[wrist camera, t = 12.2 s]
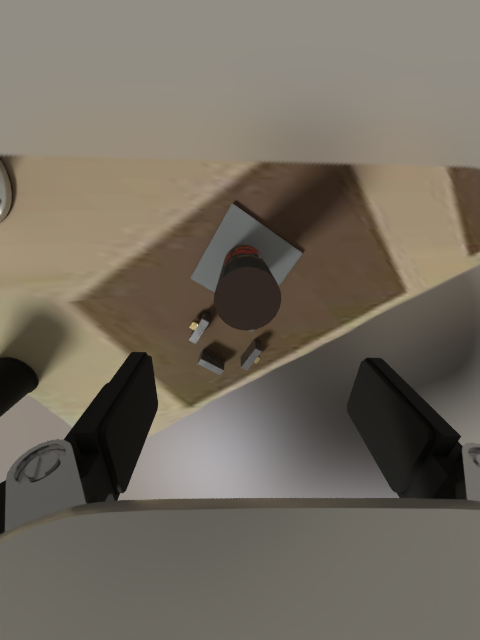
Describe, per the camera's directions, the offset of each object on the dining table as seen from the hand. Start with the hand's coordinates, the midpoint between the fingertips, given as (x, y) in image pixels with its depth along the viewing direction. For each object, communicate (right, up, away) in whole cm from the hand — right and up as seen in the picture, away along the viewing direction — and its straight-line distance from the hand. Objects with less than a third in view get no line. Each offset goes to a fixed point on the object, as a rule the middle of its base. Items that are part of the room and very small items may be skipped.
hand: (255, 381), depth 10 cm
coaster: (0, +11, +24) cm, 27 cm away
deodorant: (0, +11, +24) cm, 26 cm away
